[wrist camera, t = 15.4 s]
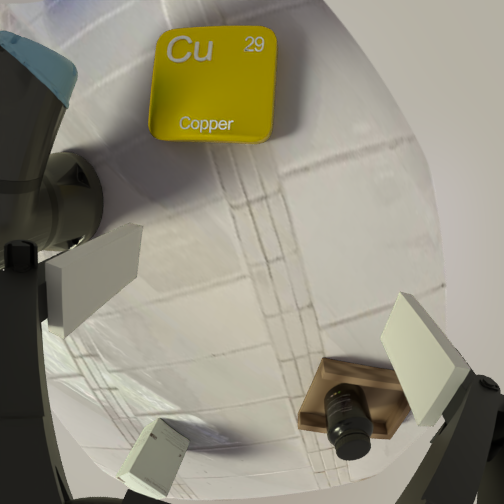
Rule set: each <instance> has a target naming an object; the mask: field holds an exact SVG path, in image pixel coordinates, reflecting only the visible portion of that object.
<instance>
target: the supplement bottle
mask: <svg viewBox="0 0 504 504" xmlns="http://www.w3.org/2000/svg"><path fill="white" fill-rule="evenodd" d="M324 410H325V419H326V429H327V437H328V440H329V441H330V443H331V444H332V445H334V446H335V449H336V454H337V456H338V457H339V458H341V459H343V460H349V461H350V460H356V459H360V458H362V457H363V456H365V455H366V454H367V453H368V452H369V451H370V448H371V443H370V437H371V435H372V433H373V430H374V426H373V421H372V417H371V414H370V410H369V406H368V403H367V399H366V396H365V393H364V390H363V389H362V388H361V387H360V386H359V385H355V384H349V383H342V384H339V385H336V386H334V387H333V388H331V389H330V390H329V391H328V392H327V394H326V395H325V398H324Z"/></svg>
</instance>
